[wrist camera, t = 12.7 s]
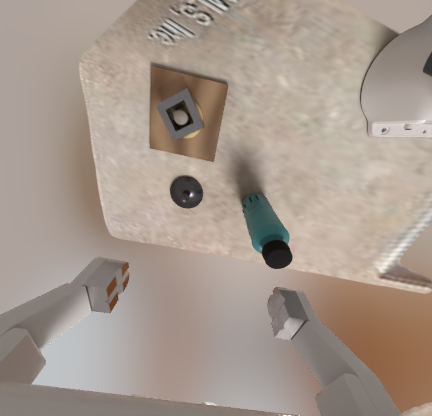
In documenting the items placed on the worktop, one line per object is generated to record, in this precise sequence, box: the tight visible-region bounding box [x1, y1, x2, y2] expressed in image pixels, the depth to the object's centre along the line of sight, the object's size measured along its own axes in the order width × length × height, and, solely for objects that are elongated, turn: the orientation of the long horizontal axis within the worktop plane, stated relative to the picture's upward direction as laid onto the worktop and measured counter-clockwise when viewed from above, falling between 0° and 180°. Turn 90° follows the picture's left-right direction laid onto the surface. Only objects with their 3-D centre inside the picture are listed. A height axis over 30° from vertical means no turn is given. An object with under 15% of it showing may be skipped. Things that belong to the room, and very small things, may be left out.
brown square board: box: [150, 66, 228, 162], centre depth 30 cm, size 14×14×6 cm
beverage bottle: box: [242, 193, 292, 269], centre depth 32 cm, size 6×7×20 cm
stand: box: [170, 177, 203, 208], centre depth 38 cm, size 8×8×5 cm
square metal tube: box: [156, 88, 205, 141], centre depth 29 cm, size 6×6×4 cm
